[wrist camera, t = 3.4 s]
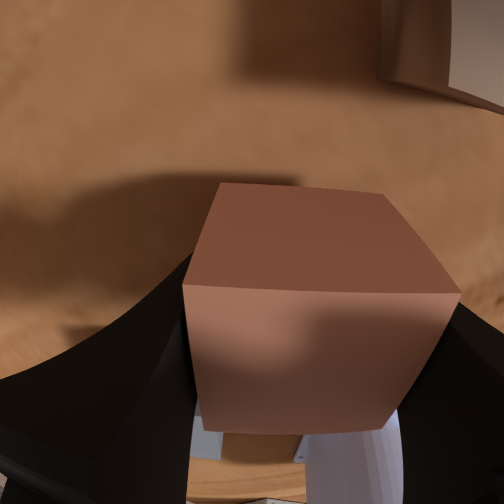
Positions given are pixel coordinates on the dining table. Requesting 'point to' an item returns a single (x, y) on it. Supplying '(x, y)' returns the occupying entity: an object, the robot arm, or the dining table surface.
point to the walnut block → (445, 48)
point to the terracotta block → (309, 310)
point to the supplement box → (272, 502)
